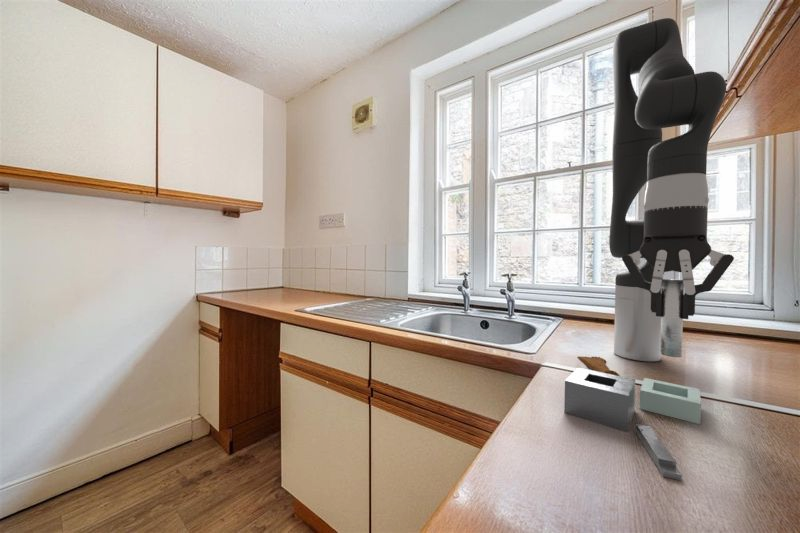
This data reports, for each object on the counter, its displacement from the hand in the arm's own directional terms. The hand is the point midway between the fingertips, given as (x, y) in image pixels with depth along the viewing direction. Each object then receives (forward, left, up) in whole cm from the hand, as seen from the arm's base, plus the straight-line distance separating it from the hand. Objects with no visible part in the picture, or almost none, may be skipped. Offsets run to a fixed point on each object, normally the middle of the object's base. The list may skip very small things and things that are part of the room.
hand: (671, 316), depth 50 cm
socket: (+9, -8, -15) cm, 19 cm away
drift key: (+16, -1, -15) cm, 22 cm away
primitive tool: (-12, -12, -15) cm, 23 cm away
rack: (0, 0, -15) cm, 15 cm away
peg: (0, 0, -6) cm, 6 cm away
